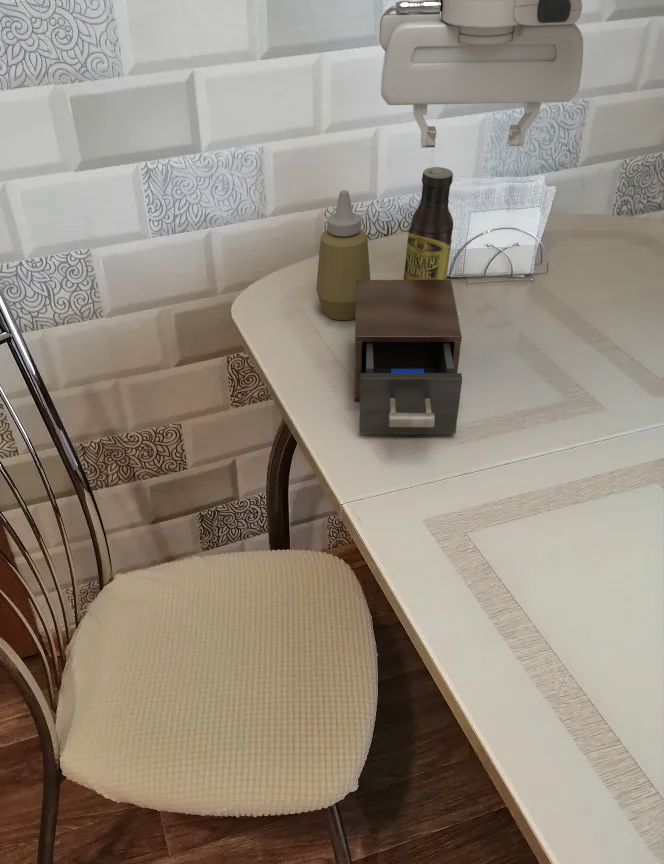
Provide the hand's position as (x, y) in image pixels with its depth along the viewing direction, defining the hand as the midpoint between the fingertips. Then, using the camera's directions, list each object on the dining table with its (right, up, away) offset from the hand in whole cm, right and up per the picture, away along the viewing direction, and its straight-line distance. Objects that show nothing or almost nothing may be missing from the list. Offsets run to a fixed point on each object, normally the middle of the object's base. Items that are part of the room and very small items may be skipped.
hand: (471, 145), depth 87 cm
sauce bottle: (0, -10, +33) cm, 34 cm away
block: (-6, -27, +11) cm, 30 cm away
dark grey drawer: (-6, -28, +11) cm, 31 cm away
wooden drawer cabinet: (-5, -22, +20) cm, 30 cm away
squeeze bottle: (-12, -11, +32) cm, 36 cm away
